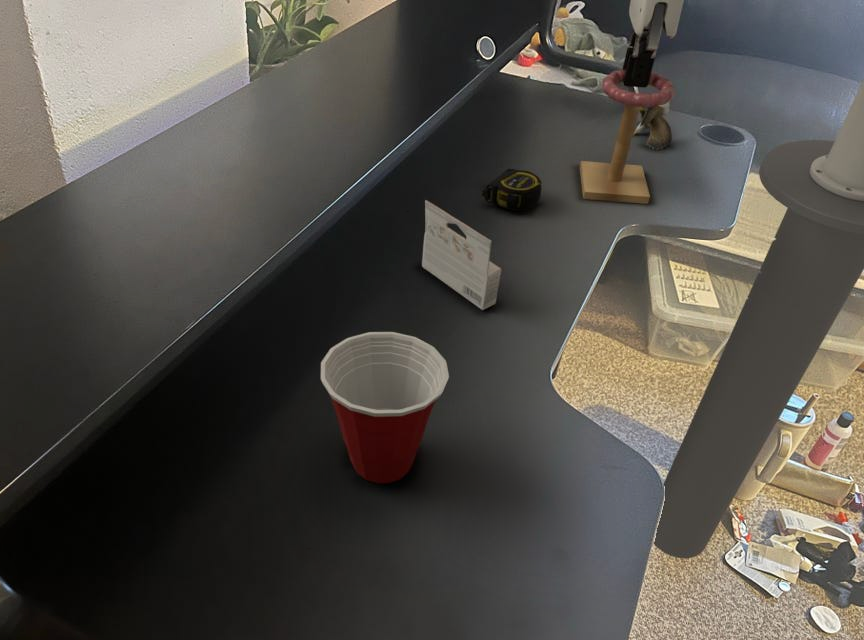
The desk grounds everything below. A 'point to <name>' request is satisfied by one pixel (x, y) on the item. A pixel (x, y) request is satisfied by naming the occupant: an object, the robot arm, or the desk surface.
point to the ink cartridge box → (459, 258)
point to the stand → (617, 169)
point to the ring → (638, 98)
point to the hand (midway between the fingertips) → (634, 81)
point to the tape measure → (514, 190)
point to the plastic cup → (383, 398)
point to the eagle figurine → (656, 126)
